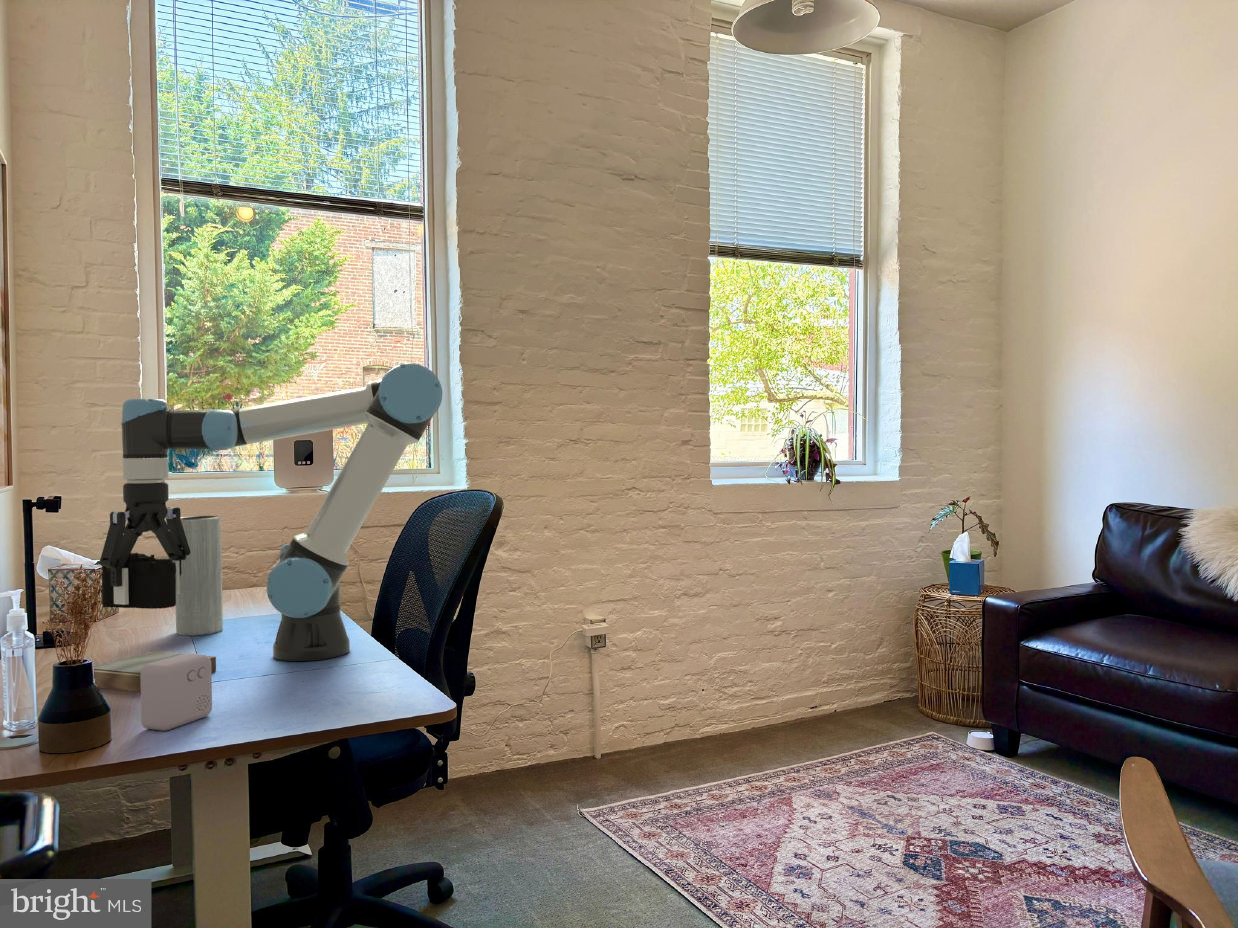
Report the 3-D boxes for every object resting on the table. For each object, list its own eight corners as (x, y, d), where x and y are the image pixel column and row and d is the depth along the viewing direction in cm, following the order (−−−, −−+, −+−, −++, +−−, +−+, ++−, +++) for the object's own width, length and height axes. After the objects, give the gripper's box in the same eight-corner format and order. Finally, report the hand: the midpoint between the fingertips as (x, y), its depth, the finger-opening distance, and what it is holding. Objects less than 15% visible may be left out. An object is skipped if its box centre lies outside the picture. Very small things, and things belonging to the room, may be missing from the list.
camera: (201, 599, 173) (200, 547, 172) (163, 609, 162) (162, 554, 162) (137, 598, 175) (136, 546, 175) (95, 607, 165) (94, 553, 165)
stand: (216, 670, 174) (215, 655, 174) (146, 692, 159) (146, 675, 159) (152, 665, 179) (152, 650, 179) (80, 685, 164) (79, 668, 164)
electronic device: (164, 734, 135) (163, 667, 135) (141, 730, 137) (140, 665, 137) (216, 715, 144) (215, 653, 144) (194, 712, 146) (193, 651, 146)
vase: (206, 636, 207) (203, 518, 206) (166, 635, 208) (164, 518, 208) (231, 627, 217) (229, 515, 216) (193, 627, 218) (191, 515, 218)
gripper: (180, 479, 181) (182, 588, 181) (74, 484, 159) (76, 608, 159) (209, 479, 178) (211, 590, 178) (106, 484, 156) (108, 610, 157)
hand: (147, 598), depth 169 cm, fingers closed on camera, 11 cm apart
